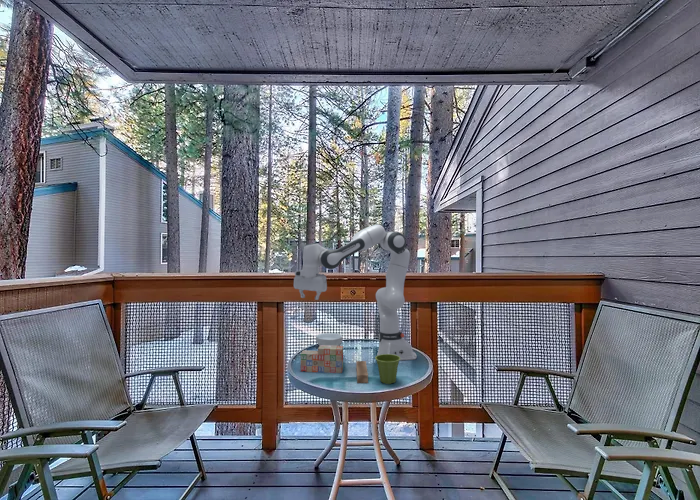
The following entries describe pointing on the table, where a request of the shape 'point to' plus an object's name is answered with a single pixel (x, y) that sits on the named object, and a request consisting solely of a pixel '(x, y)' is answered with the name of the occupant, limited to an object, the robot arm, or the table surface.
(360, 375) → the board
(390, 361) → the plant pot
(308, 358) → the stack of blocks
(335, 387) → the table surface
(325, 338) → the cereal bowl
